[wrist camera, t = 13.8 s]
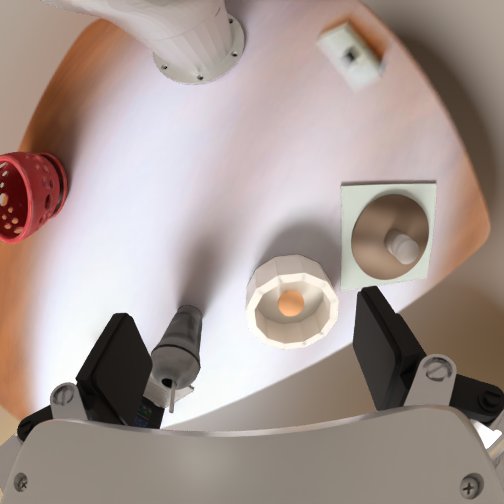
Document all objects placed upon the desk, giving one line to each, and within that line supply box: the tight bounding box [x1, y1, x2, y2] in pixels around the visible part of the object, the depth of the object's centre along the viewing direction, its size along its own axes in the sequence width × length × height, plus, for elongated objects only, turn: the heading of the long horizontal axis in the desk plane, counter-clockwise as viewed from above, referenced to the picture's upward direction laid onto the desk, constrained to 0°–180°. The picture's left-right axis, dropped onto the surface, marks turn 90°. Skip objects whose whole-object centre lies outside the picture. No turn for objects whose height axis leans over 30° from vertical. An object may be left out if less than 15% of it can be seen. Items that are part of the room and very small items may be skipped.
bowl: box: [246, 254, 339, 349], centre depth 42 cm, size 13×13×6 cm
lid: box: [351, 194, 429, 280], centre depth 38 cm, size 14×14×6 cm
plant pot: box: [0, 152, 67, 244], centre depth 32 cm, size 13×13×12 cm
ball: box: [278, 290, 304, 316], centre depth 42 cm, size 4×4×4 cm
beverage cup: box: [151, 305, 202, 413], centre depth 37 cm, size 7×7×20 cm
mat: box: [340, 183, 437, 291], centre depth 41 cm, size 17×17×1 cm
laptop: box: [132, 373, 194, 429], centre depth 48 cm, size 18×12×13 cm
